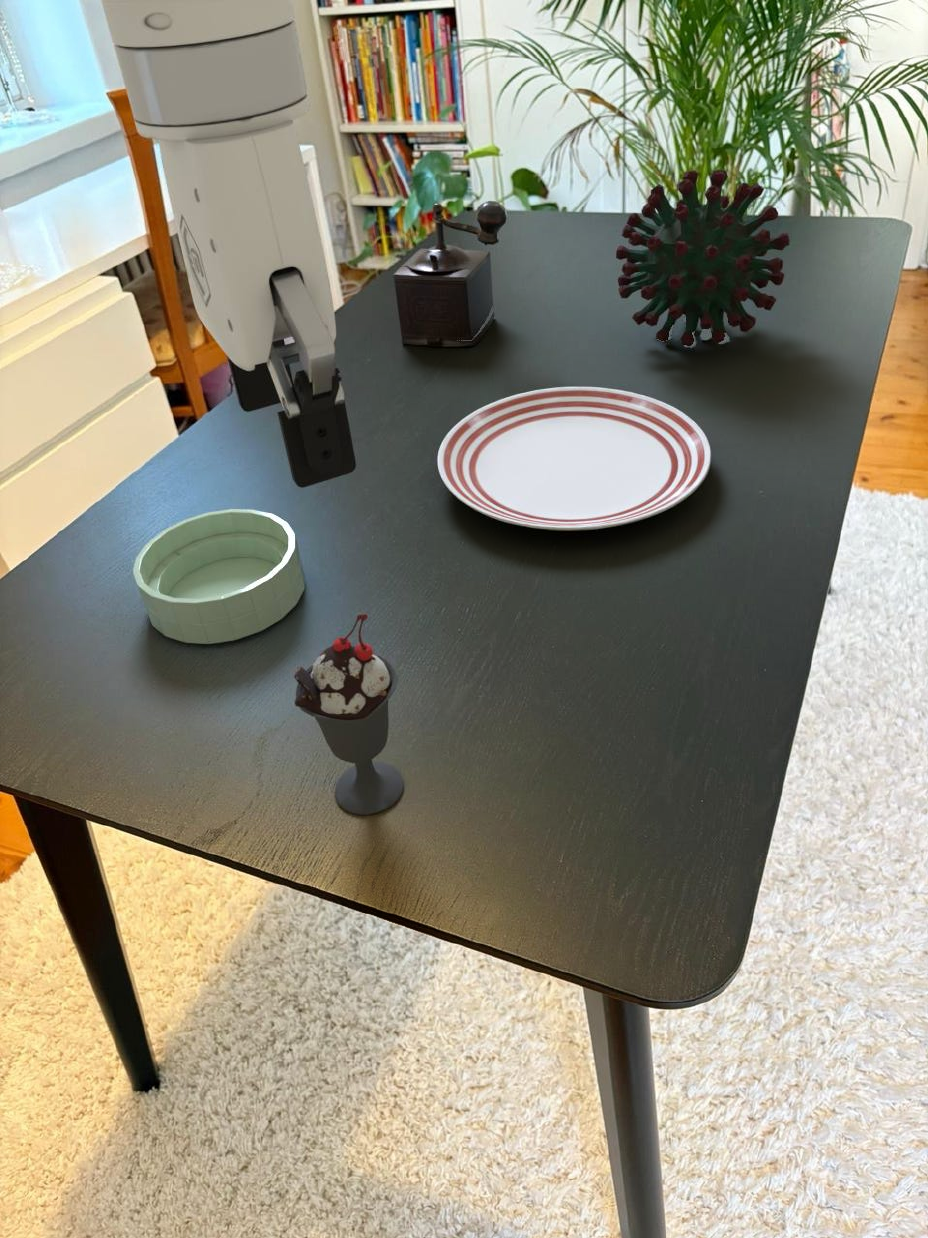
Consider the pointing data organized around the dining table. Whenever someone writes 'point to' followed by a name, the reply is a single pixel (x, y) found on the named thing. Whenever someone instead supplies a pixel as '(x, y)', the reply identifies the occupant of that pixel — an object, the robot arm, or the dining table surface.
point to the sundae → (353, 719)
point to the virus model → (700, 258)
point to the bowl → (220, 575)
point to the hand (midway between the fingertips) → (295, 438)
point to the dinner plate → (574, 458)
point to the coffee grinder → (449, 285)
